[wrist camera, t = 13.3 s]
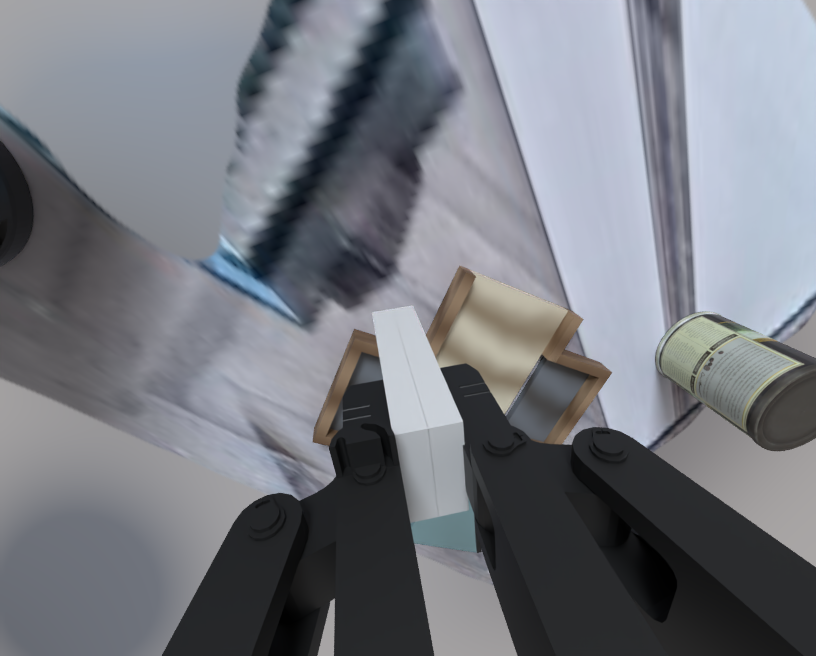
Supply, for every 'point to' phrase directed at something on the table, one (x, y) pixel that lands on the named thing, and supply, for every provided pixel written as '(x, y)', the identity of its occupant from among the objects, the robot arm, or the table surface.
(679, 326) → the coffee can
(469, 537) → the teal block
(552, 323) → the trap lane
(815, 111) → the table surface
